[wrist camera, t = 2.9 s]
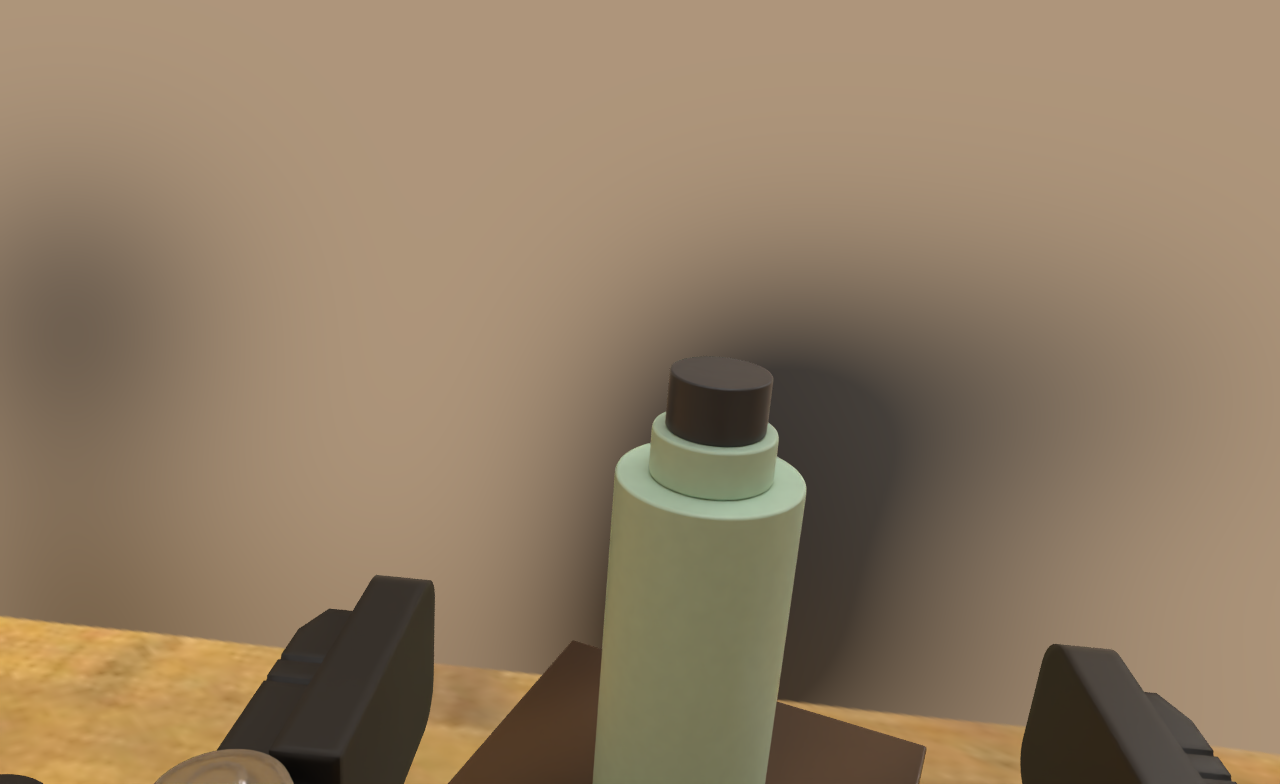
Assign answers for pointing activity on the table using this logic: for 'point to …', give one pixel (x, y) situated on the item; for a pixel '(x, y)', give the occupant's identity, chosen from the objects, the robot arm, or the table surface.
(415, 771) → the table surface
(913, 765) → the stand
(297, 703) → the robot arm
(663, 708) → the bottle
